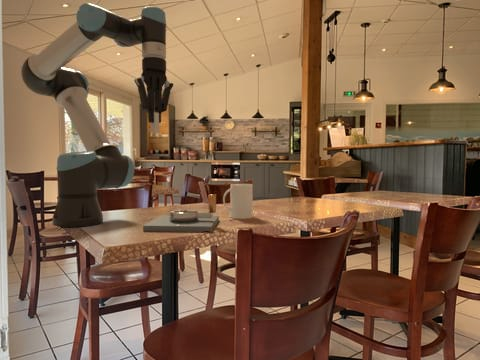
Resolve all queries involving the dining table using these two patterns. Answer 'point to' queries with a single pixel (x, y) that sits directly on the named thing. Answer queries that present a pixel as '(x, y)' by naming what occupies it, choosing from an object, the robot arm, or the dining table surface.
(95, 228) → the dining table surface
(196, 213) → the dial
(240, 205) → the mug
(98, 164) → the robot arm
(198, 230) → the panel
